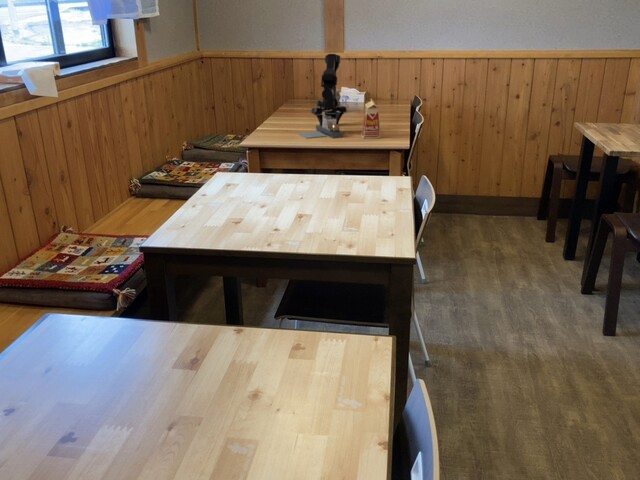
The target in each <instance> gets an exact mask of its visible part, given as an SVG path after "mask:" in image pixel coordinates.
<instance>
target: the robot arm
mask: <svg viewBox="0 0 640 480" xmlns="http://www.w3.org/2000/svg"><path fill="white" fill-rule="evenodd" d="M324 56H325V57H324V63H325V64H326V68H325V70H324V71H323V73H322V75H321V82H320V84H321V85H320V87H321V88H323V90H322V92H321V96H322V101H321V100H316V102H315V103H316V107H312V108H311V112H310V113H311V114H313V115H315V117H316V119H318V122H319V125H320V126H321V127H322V122H323V117H324V116H326V115H330V116H331V117H333V118H335V119H336V124H339V122H340V119H342V116H343V115H345V113H347V107H346V106H345V105H339V102H340V101H339V102H338V100H337V98H336V90H337V86H338V76H337V73H338V69H339V68H340V64H341V61H342V60H341V55H339V54H337V53H328V54H326V55H324ZM322 112H325V114H322ZM339 127H340V124H339Z"/></svg>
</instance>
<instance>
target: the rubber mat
mask: <svg viewBox="0 0 640 480" xmlns="http://www.w3.org/2000/svg"><path fill="white" fill-rule="evenodd" d="M297 135H299V136H300V137H302V138H304V139H306V140H307V138H308V139H317V138H326V137H328V136H327V135H325V134H323V133H321V132H319V131H317V130H315V131H308V132H298V134H297Z"/></svg>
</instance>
